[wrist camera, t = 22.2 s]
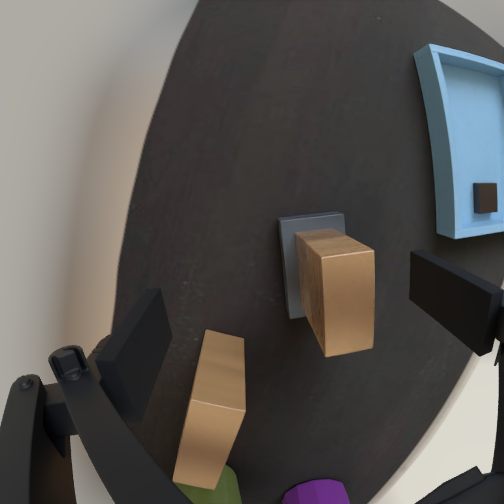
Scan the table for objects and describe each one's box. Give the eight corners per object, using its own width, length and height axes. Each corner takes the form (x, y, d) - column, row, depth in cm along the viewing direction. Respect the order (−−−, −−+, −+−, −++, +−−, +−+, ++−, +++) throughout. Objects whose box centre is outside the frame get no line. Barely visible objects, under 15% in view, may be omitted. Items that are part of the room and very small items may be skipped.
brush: (277, 217, 25) (299, 240, 15) (336, 211, 25) (390, 229, 15) (286, 309, 27) (309, 374, 17) (341, 301, 27) (387, 358, 17)
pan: (412, 53, 22) (428, 43, 19) (495, 72, 22) (512, 67, 19) (436, 233, 26) (454, 239, 23) (513, 222, 26) (531, 226, 23)
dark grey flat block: (472, 182, 24) (478, 183, 23) (491, 182, 24) (497, 182, 23) (473, 212, 25) (479, 213, 24) (491, 211, 25) (497, 212, 24)
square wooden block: (206, 329, 27) (190, 399, 17) (244, 338, 27) (246, 411, 18) (186, 408, 29) (171, 481, 19) (219, 416, 29) (214, 490, 20)
